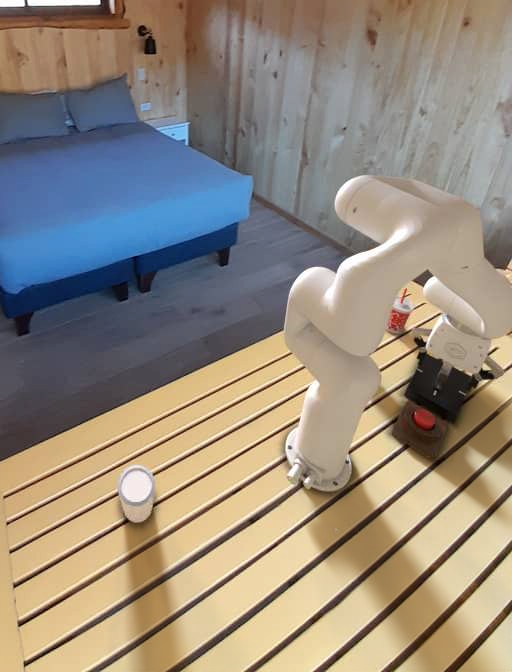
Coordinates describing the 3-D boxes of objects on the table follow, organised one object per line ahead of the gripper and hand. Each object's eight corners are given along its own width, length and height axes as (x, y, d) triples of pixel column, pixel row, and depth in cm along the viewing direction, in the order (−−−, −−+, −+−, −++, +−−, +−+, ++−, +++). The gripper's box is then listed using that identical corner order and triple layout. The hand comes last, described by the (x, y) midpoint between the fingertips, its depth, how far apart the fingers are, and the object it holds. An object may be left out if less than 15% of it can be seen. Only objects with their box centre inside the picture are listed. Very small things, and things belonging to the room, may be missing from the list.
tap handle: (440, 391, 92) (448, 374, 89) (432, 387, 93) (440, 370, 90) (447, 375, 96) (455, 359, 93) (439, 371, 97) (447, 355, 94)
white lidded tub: (142, 535, 71) (141, 515, 68) (112, 511, 75) (109, 491, 71) (162, 498, 76) (162, 477, 73) (132, 477, 80) (131, 457, 77)
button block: (433, 461, 81) (438, 451, 80) (390, 434, 87) (395, 424, 85) (446, 427, 88) (451, 417, 86) (405, 403, 93) (409, 393, 91)
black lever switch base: (454, 424, 88) (458, 415, 87) (403, 395, 95) (406, 386, 93) (468, 385, 97) (472, 376, 95) (420, 360, 103) (424, 351, 102)
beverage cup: (376, 320, 116) (388, 282, 109) (395, 318, 116) (409, 280, 110) (389, 336, 110) (403, 297, 104) (410, 334, 111) (424, 295, 105)
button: (430, 433, 83) (432, 428, 83) (410, 421, 86) (413, 416, 85) (434, 421, 86) (437, 416, 85) (415, 410, 88) (418, 405, 87)
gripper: (418, 308, 89) (398, 362, 97) (518, 353, 78) (486, 409, 86) (427, 292, 93) (408, 344, 101) (523, 332, 82) (493, 387, 90)
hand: (444, 374), depth 93 cm, fingers open, 9 cm apart
